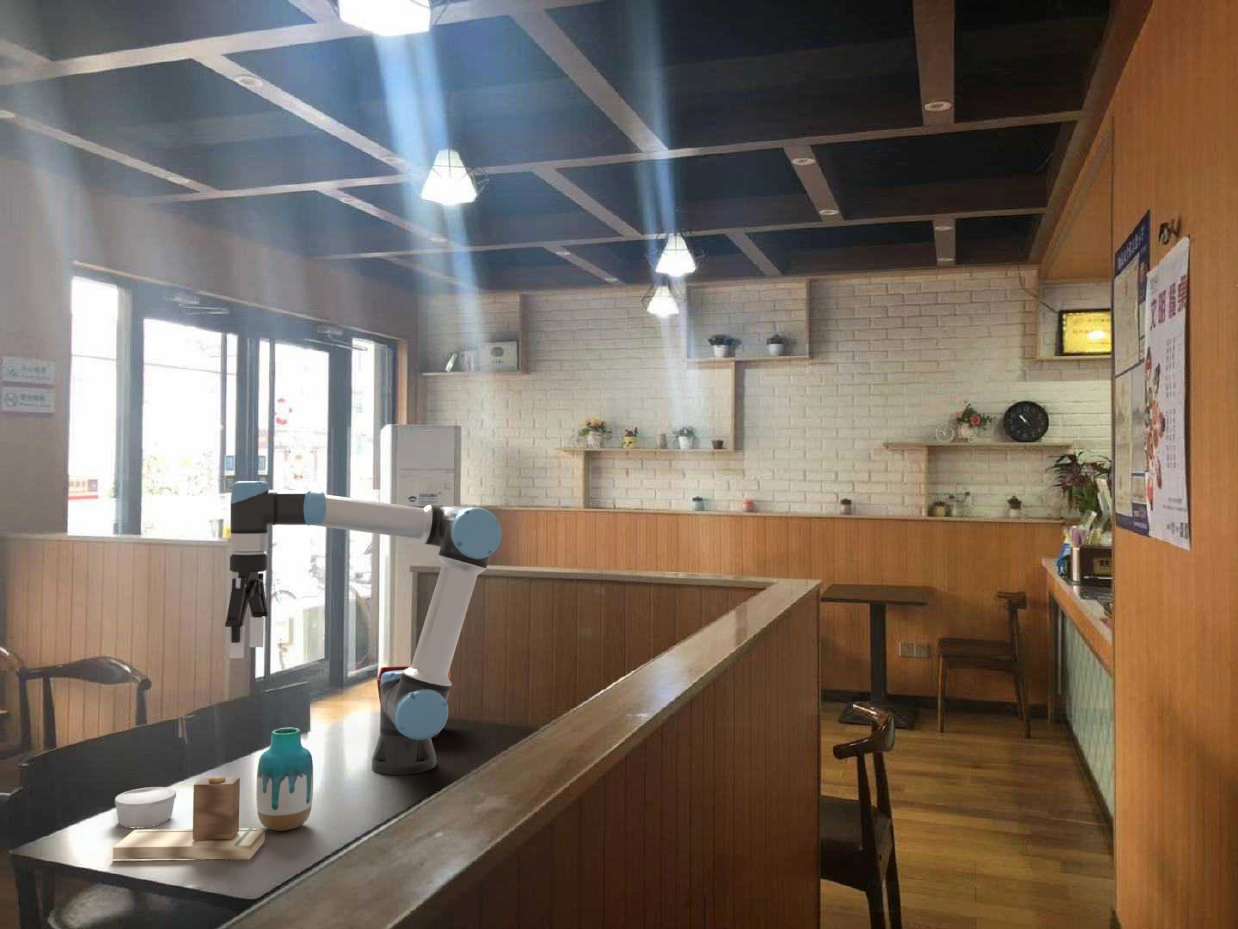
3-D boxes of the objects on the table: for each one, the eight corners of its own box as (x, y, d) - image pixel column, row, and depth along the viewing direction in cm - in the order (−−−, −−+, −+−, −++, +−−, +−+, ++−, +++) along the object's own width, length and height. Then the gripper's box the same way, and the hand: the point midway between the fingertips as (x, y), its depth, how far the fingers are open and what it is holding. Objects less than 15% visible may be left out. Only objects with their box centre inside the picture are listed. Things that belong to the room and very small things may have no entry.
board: (264, 841, 185) (264, 827, 185) (249, 859, 176) (250, 845, 176) (134, 843, 184) (134, 829, 184) (112, 861, 175) (113, 847, 175)
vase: (280, 842, 185) (281, 740, 185) (244, 831, 191) (245, 732, 191) (324, 825, 194) (325, 729, 194) (288, 815, 200) (290, 721, 200)
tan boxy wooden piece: (244, 824, 186) (245, 769, 186) (231, 839, 179) (232, 781, 179) (207, 825, 186) (208, 769, 186) (192, 839, 178) (193, 781, 178)
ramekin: (160, 808, 204) (160, 782, 204) (186, 820, 197) (186, 794, 197) (104, 822, 195) (104, 795, 195) (129, 835, 188) (130, 807, 188)
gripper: (248, 548, 221) (247, 642, 221) (210, 557, 196) (208, 663, 196) (282, 549, 222) (280, 642, 221) (248, 557, 197) (246, 663, 196)
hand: (246, 652), depth 209 cm, fingers open, 13 cm apart
